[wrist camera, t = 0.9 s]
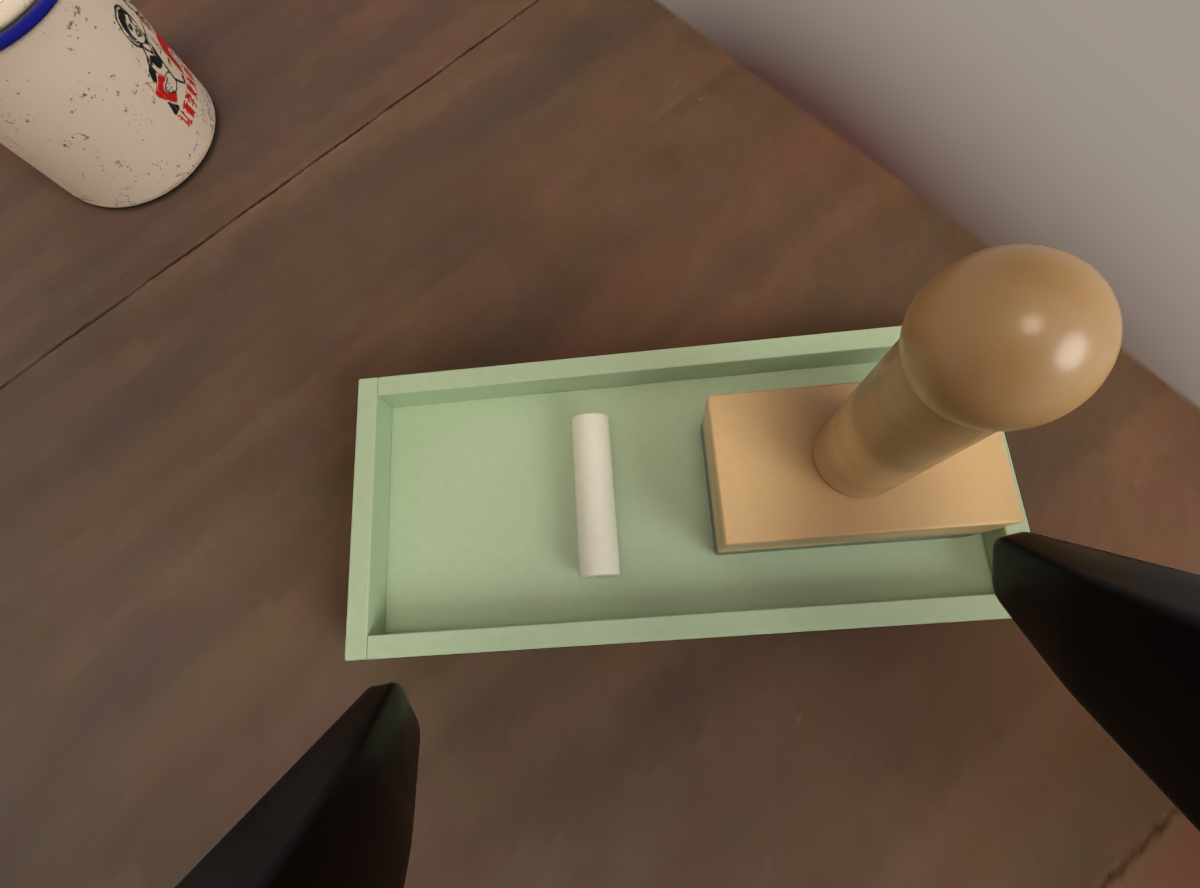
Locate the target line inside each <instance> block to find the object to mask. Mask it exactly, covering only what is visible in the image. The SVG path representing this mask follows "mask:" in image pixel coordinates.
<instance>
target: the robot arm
mask: <svg viewBox="0 0 1200 888" xmlns="http://www.w3.org/2000/svg"><path fill="white" fill-rule="evenodd" d="M992 586H993V590H994V593H995V595H996V597H997V599H998V601H999V602H1000V603H1001V605H1002V606H1003V607H1004V609H1005V610H1006V611H1007V613H1008V614H1009V615H1010V616H1011V618H1012V619H1013V620H1014V622H1015V623H1016V624H1017V625H1018V627H1019V628H1020V629H1021V631H1022V632H1023V633H1024V635H1025V636H1026V637H1027V638H1028V640H1029V641H1030V642H1031V644H1032V645H1033V646H1034V648H1035V649H1036V650H1037V651H1038V653H1039V654H1040V655H1041V657H1042V658H1043V659H1044V660H1045V662H1046V663H1047V664H1048V666H1049V667H1050V668H1051V670H1052V671H1053V672H1054V673H1055V675H1056V676H1057V677H1058V678H1059V680H1060V681H1061V682H1062V683H1063V684H1064V686H1065V687H1066V688H1067V689H1068V690H1069V692H1070V693H1071V694H1072V695H1073V696H1074V697H1075V698H1076V699H1077V701H1078V702H1079V703H1080V704H1081V705H1082V706H1083V707H1084V708H1085V709H1086V710H1087V711H1088V713H1089V714H1090V715H1091V716H1092V717H1093V718H1094V719H1095V720H1096V721H1097V722H1098V723H1099V724H1100V725H1101V726H1102V727H1103V729H1104V730H1105V731H1106V732H1107V733H1108V734H1109V735H1110V736H1111V737H1112V738H1113V739H1114V740H1115V741H1116V742H1117V744H1118V745H1119V746H1120V747H1121V748H1122V749H1123V750H1124V751H1125V752H1126V753H1127V754H1128V755H1129V756H1130V757H1131V759H1132V760H1133V761H1134V762H1135V763H1136V764H1137V765H1138V766H1139V767H1140V768H1141V769H1142V770H1143V771H1144V772H1145V774H1146V775H1147V776H1148V777H1149V778H1150V779H1151V780H1152V781H1153V782H1154V783H1155V784H1156V785H1157V786H1158V787H1159V789H1160V790H1161V791H1162V792H1163V793H1164V794H1165V795H1166V796H1167V797H1168V798H1169V799H1170V800H1171V801H1172V802H1173V804H1174V805H1175V806H1176V807H1177V808H1178V809H1179V810H1180V811H1181V812H1182V813H1183V814H1184V815H1185V816H1186V817H1187V819H1188V820H1189V821H1190V822H1191V823H1192V824H1193V825H1194V826H1195V827H1196V828H1197V829H1198V830H1199V831H1200V575H1197V574H1193V573H1189V572H1185V571H1181V570H1177V569H1173V568H1169V567H1166V566H1162V565H1158V564H1154V563H1150V562H1146V561H1142V560H1138V559H1134V558H1130V557H1126V556H1122V555H1118V554H1114V553H1110V552H1106V551H1102V550H1098V549H1094V548H1090V547H1086V546H1082V545H1078V544H1074V543H1070V542H1066V541H1062V540H1058V539H1054V538H1050V537H1046V536H1042V535H1038V534H1034V533H1030V532H1018V533H1014V534H1010V535H1006V536H1001V537H999V538H997V539H996V540H995V541H994V544H993V556H992ZM419 746H420V729H419V724H418V720H417V718H416V716H415V713H414V711H413V709H412V707H411V704H410V702H409V700H408V698H407V695H406V693H405V691H404V689H403V687H402V685H401V684H400V683H399V682H396V681H391V682H387V683H383V684H379V685H374V686H372V687H370V688H368V689H367V690H366V691H365V692H364V693H363V694H362V695H361V696H360V697H359V698H358V699H357V700H356V701H355V702H354V703H353V705H352V706H351V707H350V708H349V709H348V710H347V711H346V712H345V713H344V714H343V715H342V716H341V717H340V718H339V719H338V720H337V721H336V722H335V723H334V724H333V725H332V726H331V727H330V728H329V729H328V730H327V731H326V732H325V733H324V734H323V735H322V736H321V738H320V739H319V740H318V741H317V742H316V743H315V744H314V745H313V746H312V747H311V748H310V749H309V750H308V751H307V752H306V753H305V754H304V755H303V756H302V757H301V758H300V759H299V760H298V761H297V762H296V763H295V764H294V765H293V766H292V767H291V768H290V769H289V770H288V772H287V773H286V774H285V775H284V776H283V777H282V778H281V779H280V780H279V781H278V782H277V783H276V784H275V785H274V786H273V787H272V788H271V789H270V790H269V791H268V792H267V793H266V794H265V795H264V796H263V797H262V798H261V799H260V800H259V801H258V802H257V803H256V804H255V805H254V807H253V808H252V809H251V810H250V811H249V812H248V813H247V814H246V815H245V816H244V817H243V818H242V819H241V820H240V821H239V822H238V823H237V824H236V825H235V826H234V827H233V828H232V829H231V830H230V831H229V832H228V833H227V834H226V835H225V836H224V837H223V838H222V839H221V840H220V842H219V843H218V844H217V845H216V846H215V847H214V848H213V849H212V850H211V851H210V852H209V853H208V854H207V855H206V856H205V857H204V858H203V859H202V860H201V861H200V862H199V863H198V864H197V865H196V866H195V867H194V868H193V869H192V870H191V871H190V872H189V873H188V874H187V875H186V877H185V878H184V879H183V880H182V881H181V882H180V883H179V884H178V885H177V886H176V887H175V888H404V884H405V878H406V873H407V867H408V862H409V855H410V849H411V842H412V833H413V822H414V809H415V797H416V784H417V771H418V758H419Z"/></svg>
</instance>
